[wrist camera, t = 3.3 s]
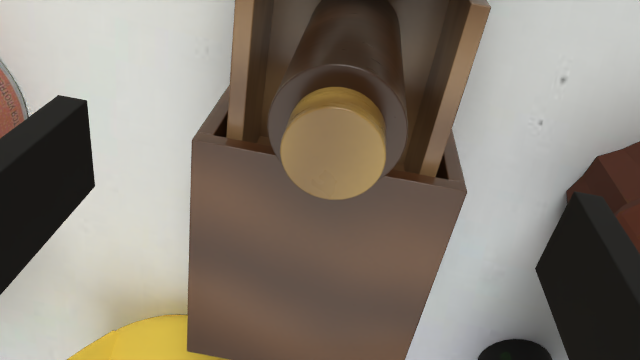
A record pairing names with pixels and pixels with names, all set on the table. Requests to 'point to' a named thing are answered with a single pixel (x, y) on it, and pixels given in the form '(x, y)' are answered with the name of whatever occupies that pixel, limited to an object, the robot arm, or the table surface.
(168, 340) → the teapot
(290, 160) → the bottle
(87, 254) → the table surface
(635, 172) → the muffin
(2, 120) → the canned food
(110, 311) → the table surface
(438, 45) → the drawer
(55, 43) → the table surface
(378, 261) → the cabinet
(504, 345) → the cup
